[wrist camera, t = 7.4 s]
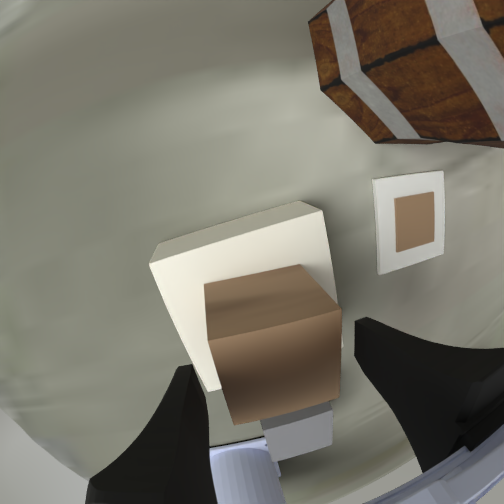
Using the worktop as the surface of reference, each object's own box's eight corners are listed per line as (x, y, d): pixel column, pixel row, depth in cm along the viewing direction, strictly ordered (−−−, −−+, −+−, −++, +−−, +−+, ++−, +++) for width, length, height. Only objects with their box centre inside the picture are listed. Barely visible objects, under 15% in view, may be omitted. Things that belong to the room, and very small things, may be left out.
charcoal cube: (312, 405, 24) (331, 444, 19) (260, 420, 23) (272, 462, 19) (310, 367, 22) (333, 409, 18) (250, 384, 22) (263, 430, 17)
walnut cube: (305, 341, 17) (339, 397, 12) (223, 360, 16) (234, 425, 11) (299, 264, 15) (341, 308, 10) (203, 283, 15) (207, 340, 10)
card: (440, 252, 21) (445, 254, 21) (377, 273, 21) (381, 276, 20) (440, 170, 19) (445, 170, 18) (371, 178, 18) (376, 179, 18)
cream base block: (321, 317, 21) (343, 347, 17) (205, 355, 21) (208, 392, 17) (297, 199, 18) (322, 210, 14) (159, 242, 18) (148, 263, 14)
